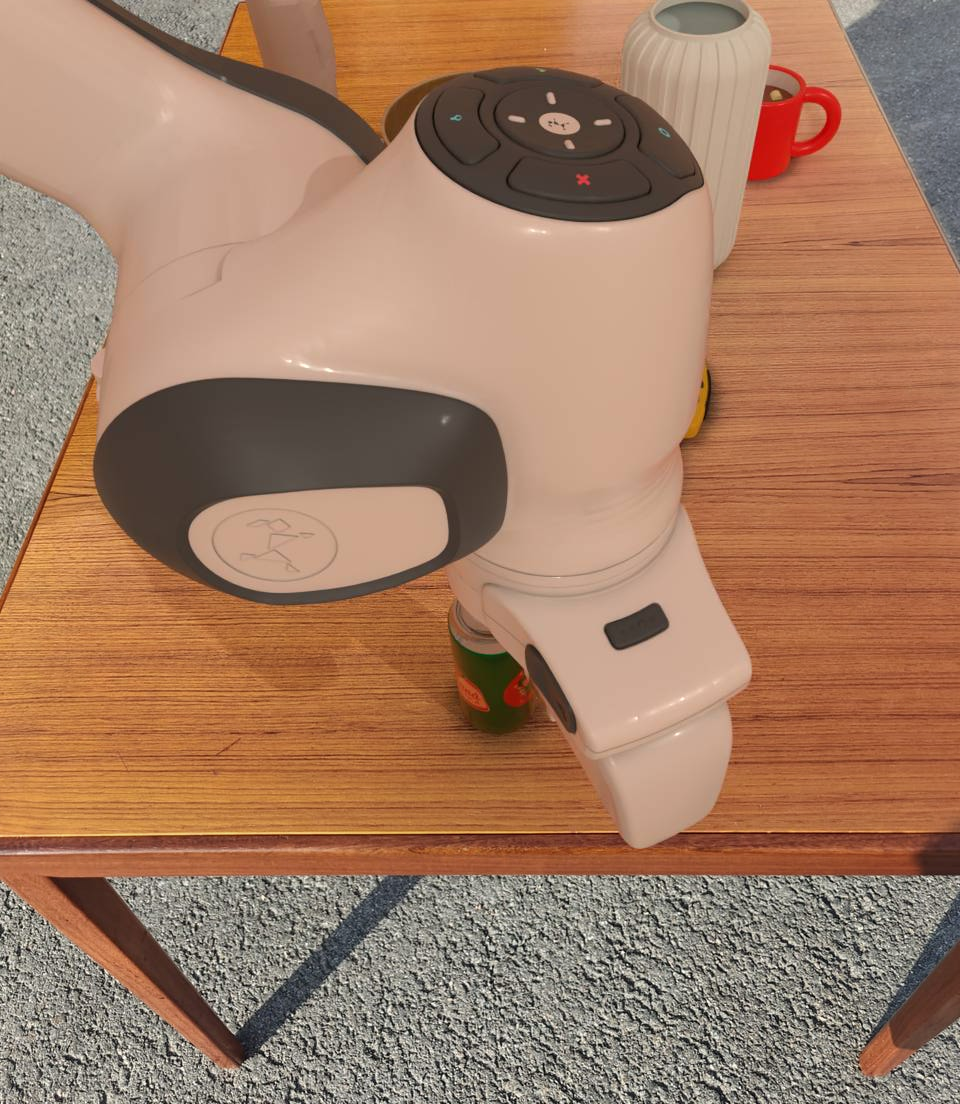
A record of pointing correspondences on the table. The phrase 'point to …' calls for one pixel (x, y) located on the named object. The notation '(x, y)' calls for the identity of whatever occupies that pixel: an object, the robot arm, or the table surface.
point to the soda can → (487, 677)
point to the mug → (788, 122)
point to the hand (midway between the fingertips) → (553, 693)
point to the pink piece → (295, 40)
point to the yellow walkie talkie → (701, 405)
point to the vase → (704, 90)
